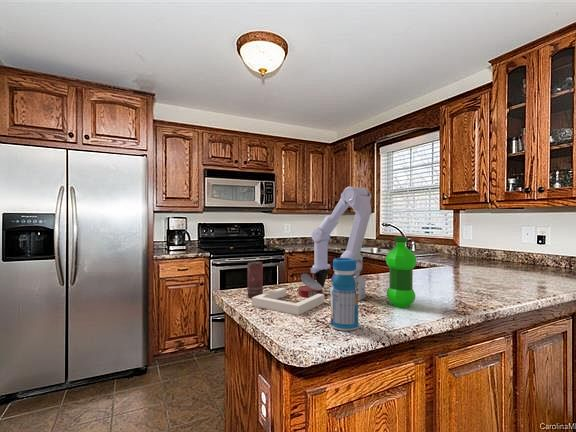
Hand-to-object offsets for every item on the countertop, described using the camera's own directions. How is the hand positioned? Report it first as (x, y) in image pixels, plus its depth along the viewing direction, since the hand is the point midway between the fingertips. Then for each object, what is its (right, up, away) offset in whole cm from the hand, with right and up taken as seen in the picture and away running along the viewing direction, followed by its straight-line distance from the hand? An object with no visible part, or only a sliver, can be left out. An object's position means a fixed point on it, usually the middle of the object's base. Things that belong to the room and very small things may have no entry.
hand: (320, 287), depth 140 cm
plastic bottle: (+27, -2, -23) cm, 35 cm away
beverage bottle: (+2, -2, -45) cm, 45 cm away
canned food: (-5, -2, -7) cm, 9 cm away
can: (-28, -2, -10) cm, 29 cm away
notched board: (-14, -2, -21) cm, 25 cm away
